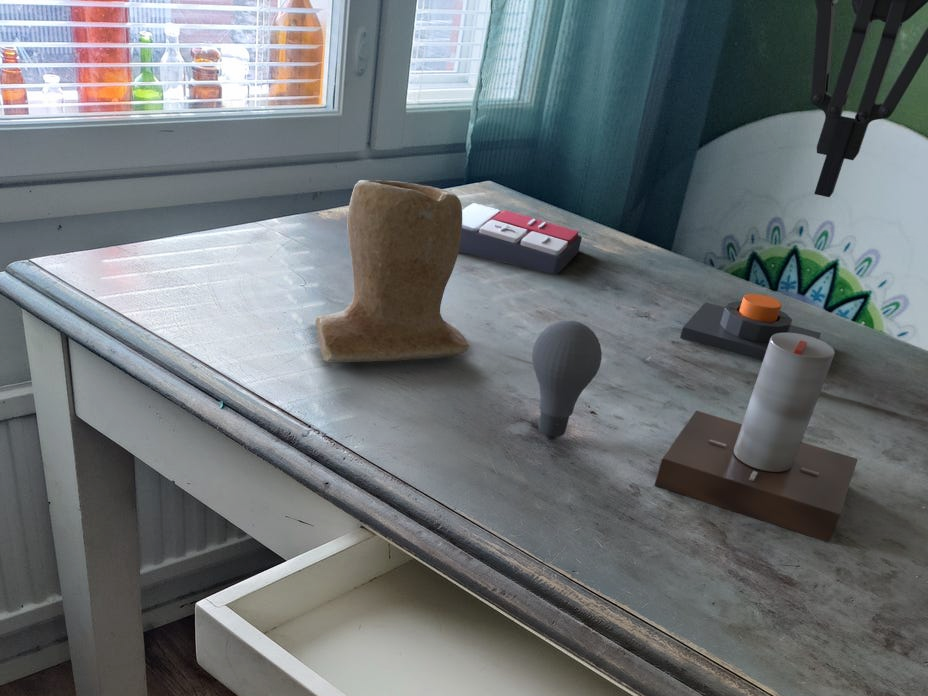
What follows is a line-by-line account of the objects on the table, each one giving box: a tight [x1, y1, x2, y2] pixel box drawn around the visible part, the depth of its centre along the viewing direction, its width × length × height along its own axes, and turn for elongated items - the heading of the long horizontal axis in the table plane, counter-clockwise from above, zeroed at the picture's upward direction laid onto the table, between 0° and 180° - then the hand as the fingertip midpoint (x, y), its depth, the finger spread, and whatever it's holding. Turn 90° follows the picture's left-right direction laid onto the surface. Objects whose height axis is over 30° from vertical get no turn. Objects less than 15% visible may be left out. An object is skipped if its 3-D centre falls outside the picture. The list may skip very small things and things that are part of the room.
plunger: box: [739, 293, 782, 322], centre depth 103 cm, size 4×4×2 cm
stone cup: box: [315, 179, 470, 363], centre depth 90 cm, size 15×12×15 cm
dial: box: [734, 333, 836, 472], centre depth 77 cm, size 5×5×10 cm
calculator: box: [458, 203, 583, 275], centre depth 120 cm, size 11×4×15 cm
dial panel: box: [654, 410, 858, 543], centre depth 81 cm, size 14×11×3 cm
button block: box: [679, 300, 822, 362], centre depth 105 cm, size 13×10×4 cm
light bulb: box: [531, 319, 603, 440], centre depth 81 cm, size 6×6×10 cm
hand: (823, 192), depth 96 cm, fingers closed
